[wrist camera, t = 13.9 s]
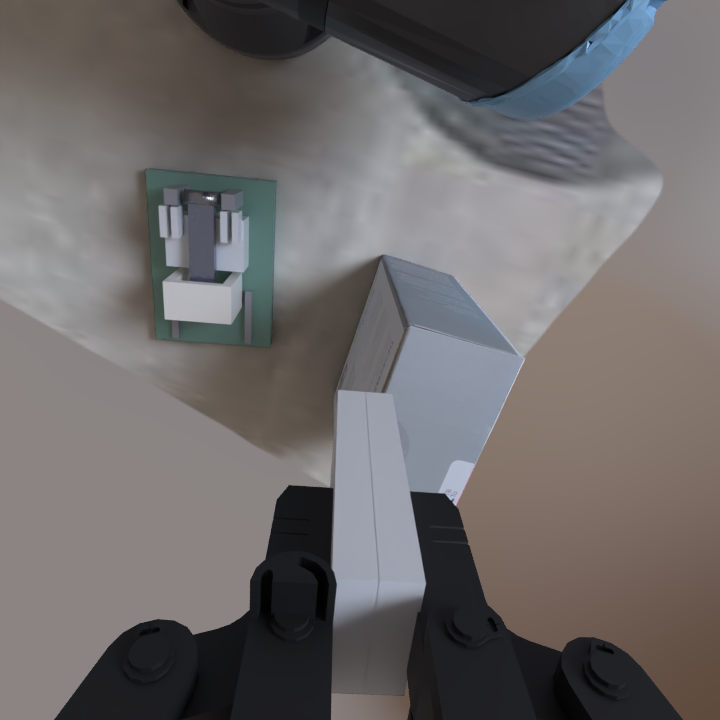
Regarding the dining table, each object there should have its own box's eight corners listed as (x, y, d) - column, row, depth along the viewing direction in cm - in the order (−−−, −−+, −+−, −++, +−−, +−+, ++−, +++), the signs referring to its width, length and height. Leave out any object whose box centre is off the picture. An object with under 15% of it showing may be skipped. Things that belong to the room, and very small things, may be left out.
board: (150, 168, 44) (126, 172, 39) (276, 180, 44) (267, 186, 40) (160, 334, 50) (140, 355, 45) (271, 343, 50) (263, 365, 46)
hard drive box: (403, 414, 54) (433, 558, 36) (332, 395, 53) (325, 534, 35) (459, 274, 48) (528, 360, 30) (381, 250, 47) (403, 323, 29)
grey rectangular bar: (187, 188, 41) (182, 189, 40) (220, 191, 41) (216, 192, 40) (189, 299, 44) (185, 303, 43) (220, 302, 45) (217, 305, 43)
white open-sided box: (180, 267, 46) (162, 281, 41) (242, 272, 46) (231, 287, 42) (181, 301, 47) (164, 319, 42) (242, 306, 47) (231, 324, 43)
